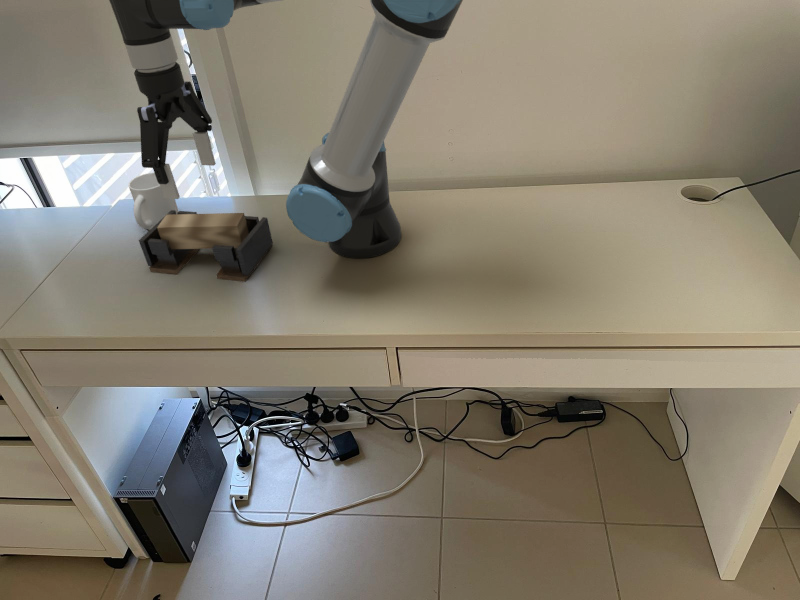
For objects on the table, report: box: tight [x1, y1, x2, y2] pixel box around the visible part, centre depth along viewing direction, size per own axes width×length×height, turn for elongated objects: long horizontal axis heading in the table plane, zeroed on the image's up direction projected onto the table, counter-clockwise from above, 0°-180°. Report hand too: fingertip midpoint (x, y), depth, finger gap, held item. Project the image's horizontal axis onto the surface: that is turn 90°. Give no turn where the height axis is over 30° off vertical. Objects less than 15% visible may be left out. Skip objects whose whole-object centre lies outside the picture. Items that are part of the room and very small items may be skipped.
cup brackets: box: [138, 210, 274, 283], centre depth 129 cm, size 22×13×7 cm, turn 75°
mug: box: [128, 172, 180, 230], centre depth 140 cm, size 12×8×10 cm
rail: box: [157, 212, 249, 250], centre depth 127 cm, size 16×5×5 cm, turn 86°
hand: (191, 180), depth 120 cm, fingers open, 13 cm apart
